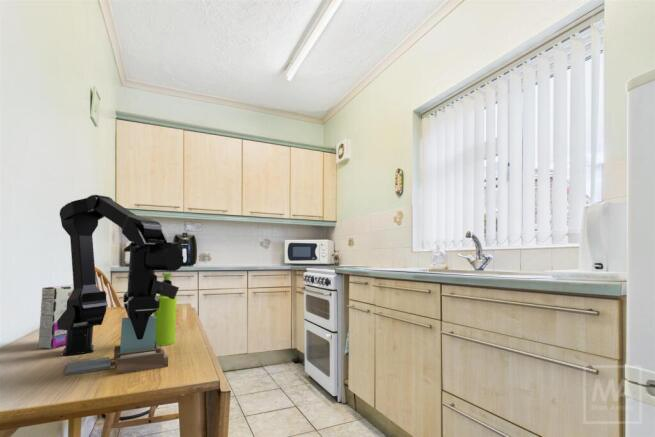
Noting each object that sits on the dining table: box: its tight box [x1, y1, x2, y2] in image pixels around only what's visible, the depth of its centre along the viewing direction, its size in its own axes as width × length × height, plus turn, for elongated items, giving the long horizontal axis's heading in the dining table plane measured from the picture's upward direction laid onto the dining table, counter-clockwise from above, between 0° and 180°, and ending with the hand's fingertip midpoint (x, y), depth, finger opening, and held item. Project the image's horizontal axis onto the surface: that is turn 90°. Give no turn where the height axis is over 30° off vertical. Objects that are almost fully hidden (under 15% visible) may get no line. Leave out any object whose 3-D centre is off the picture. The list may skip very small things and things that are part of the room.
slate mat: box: [64, 356, 111, 376], centre depth 78 cm, size 8×8×1 cm
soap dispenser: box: [153, 272, 178, 347], centre depth 101 cm, size 6×7×20 cm
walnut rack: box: [113, 341, 169, 375], centre depth 82 cm, size 14×10×3 cm
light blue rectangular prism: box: [120, 314, 156, 353], centre depth 84 cm, size 4×7×10 cm, turn 123°
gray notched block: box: [120, 351, 156, 358], centre depth 78 cm, size 2×8×3 cm, turn 123°
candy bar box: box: [38, 284, 74, 350], centre depth 100 cm, size 11×5×16 cm, turn 168°
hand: (138, 335), depth 84 cm, fingers open, 9 cm apart
